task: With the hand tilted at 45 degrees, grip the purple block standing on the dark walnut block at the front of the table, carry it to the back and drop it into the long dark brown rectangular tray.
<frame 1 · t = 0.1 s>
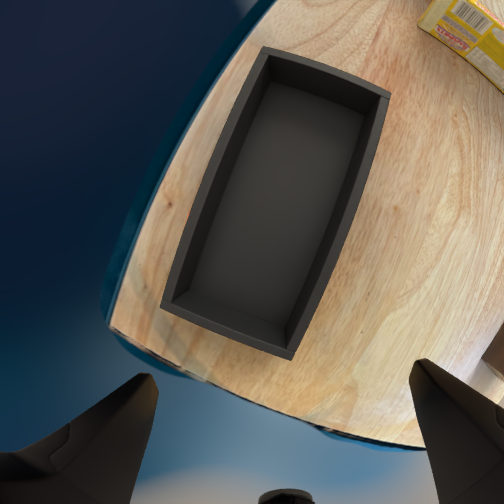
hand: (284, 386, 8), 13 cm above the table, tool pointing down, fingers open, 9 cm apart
walnut block: (503, 346, 19), on the table
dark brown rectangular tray: (279, 198, 20), on the table
candy box: (474, 64, 17), on the table
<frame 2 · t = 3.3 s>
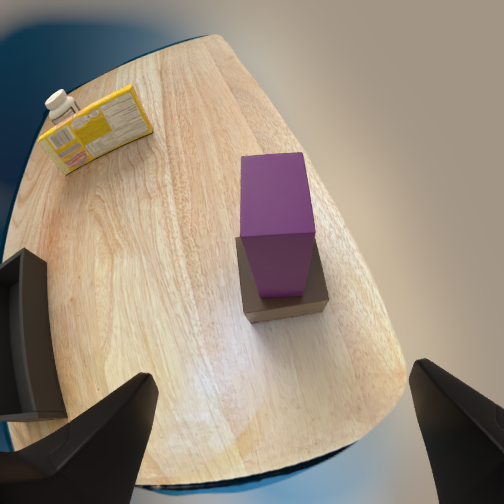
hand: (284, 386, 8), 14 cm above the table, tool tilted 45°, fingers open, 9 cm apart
purple block: (280, 266, 20), point 4 cm above the table, touching walnut block
walnut block: (281, 284, 23), on the table
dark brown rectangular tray: (29, 343, 23), on the table
candy box: (106, 151, 35), on the table
pill bottle: (79, 133, 40), on the table
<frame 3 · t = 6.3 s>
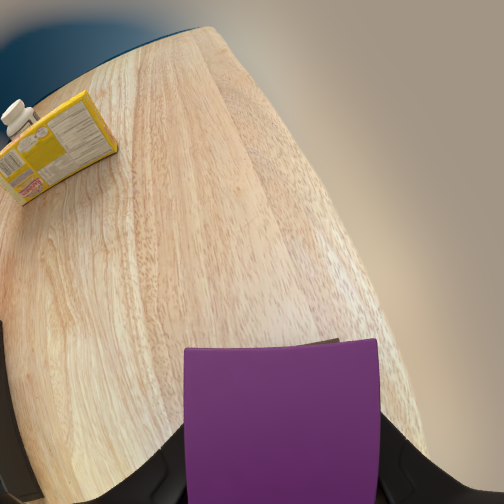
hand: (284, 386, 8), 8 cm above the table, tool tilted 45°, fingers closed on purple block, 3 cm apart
purple block: (284, 409, 11), point 4 cm above the table, touching gripper, walnut block
candy box: (64, 176, 26), on the table
pill bottle: (42, 150, 31), on the table
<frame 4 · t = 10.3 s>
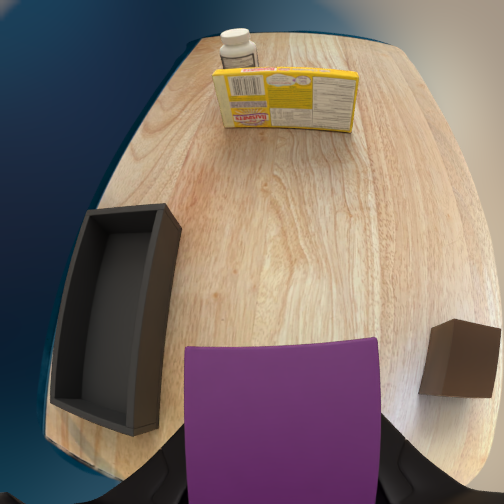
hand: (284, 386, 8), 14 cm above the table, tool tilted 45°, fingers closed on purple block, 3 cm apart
purple block: (284, 409, 11), point 9 cm above the table, touching gripper
walnut block: (450, 364, 18), on the table
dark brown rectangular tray: (123, 319, 24), on the table
candy box: (287, 125, 32), on the table
pill bottle: (244, 85, 37), on the table
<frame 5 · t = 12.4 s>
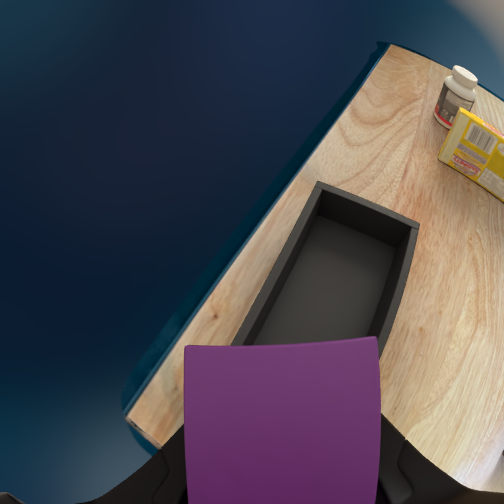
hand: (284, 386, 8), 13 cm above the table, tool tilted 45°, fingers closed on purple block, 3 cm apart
purple block: (284, 408, 11), point 9 cm above the table, touching gripper
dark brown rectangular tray: (319, 322, 21), on the table
candy box: (484, 186, 25), on the table
pill bottle: (447, 121, 31), on the table
when the fingers open (9 cm above the table, at t = 14.1 s): purple block drops 2 cm and tips over, resting on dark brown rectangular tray.
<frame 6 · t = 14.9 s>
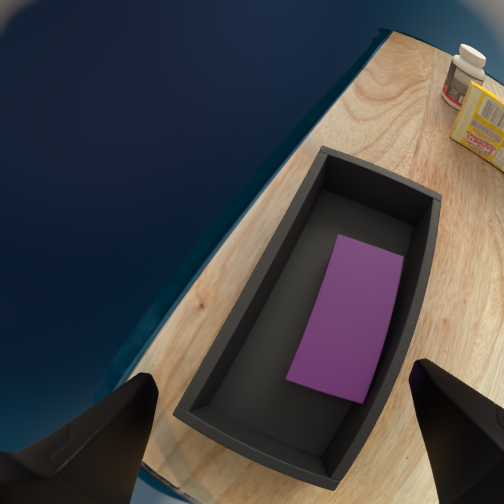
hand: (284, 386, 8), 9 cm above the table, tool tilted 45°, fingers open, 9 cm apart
purple block: (321, 391, 14), point 2 cm above the table, tilted 90°, touching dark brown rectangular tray
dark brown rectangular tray: (327, 313, 18), on the table
candy box: (499, 167, 21), on the table
pill bottle: (455, 103, 27), on the table
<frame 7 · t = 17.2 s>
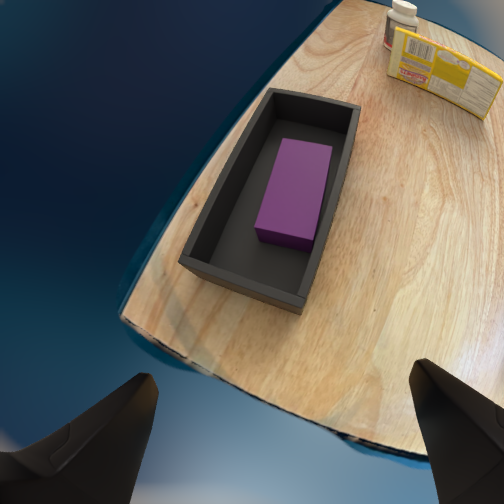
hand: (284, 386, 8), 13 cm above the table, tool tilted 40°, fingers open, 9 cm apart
purple block: (284, 240, 21), point 2 cm above the table, tilted 90°, touching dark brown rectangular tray
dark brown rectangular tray: (286, 196, 25), on the table
candy box: (437, 94, 27), on the table
pill bottle: (397, 49, 31), on the table
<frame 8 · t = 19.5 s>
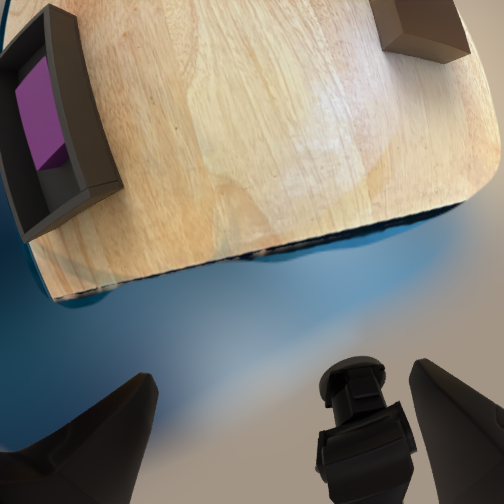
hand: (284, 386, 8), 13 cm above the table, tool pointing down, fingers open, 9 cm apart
purple block: (64, 153, 17), point 2 cm above the table, tilted 90°, touching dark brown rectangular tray
walnut block: (407, 26, 13), on the table
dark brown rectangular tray: (55, 115, 17), on the table
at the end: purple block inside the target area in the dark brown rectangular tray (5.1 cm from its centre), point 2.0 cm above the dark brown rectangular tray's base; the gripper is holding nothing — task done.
